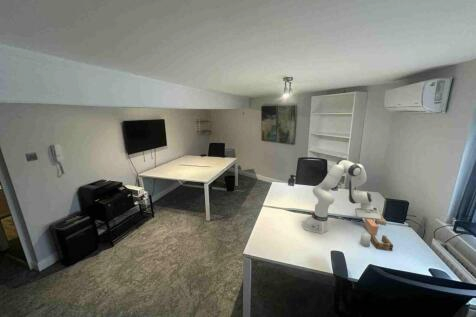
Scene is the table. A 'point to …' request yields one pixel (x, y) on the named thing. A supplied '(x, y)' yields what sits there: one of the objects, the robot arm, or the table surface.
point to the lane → (378, 245)
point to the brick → (381, 221)
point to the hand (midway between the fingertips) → (369, 223)
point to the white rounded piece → (365, 239)
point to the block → (371, 226)
